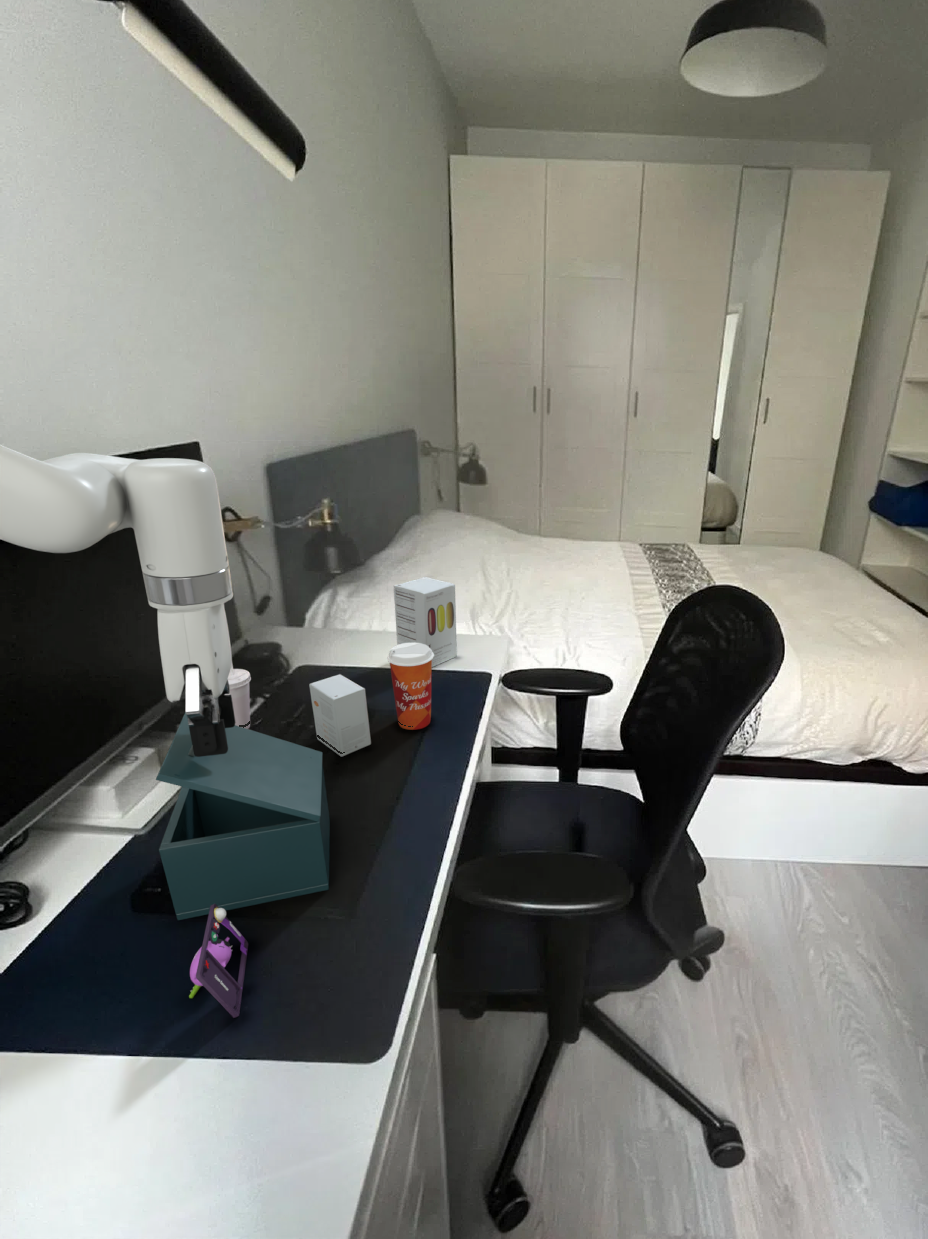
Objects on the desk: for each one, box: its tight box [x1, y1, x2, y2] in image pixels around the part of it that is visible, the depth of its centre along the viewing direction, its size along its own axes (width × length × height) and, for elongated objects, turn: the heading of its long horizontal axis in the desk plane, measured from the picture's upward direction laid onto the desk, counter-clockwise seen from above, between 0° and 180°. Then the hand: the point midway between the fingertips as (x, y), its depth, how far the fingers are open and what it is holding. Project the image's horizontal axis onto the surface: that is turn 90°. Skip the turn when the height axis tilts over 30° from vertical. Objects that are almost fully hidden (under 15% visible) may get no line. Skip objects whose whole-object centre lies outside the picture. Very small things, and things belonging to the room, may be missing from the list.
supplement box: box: [393, 576, 458, 668], centre depth 135 cm, size 10×9×17 cm
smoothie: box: [225, 664, 252, 729], centre depth 105 cm, size 6×6×14 cm
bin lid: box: [155, 702, 323, 821], centre depth 73 cm, size 17×14×5 cm
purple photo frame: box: [188, 904, 249, 1019], centre depth 62 cm, size 7×5×9 cm
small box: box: [308, 673, 372, 757], centre depth 103 cm, size 8×6×10 cm
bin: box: [158, 763, 331, 921], centre depth 76 cm, size 16×14×10 cm
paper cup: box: [386, 643, 434, 731], centre depth 109 cm, size 8×8×14 cm
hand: (215, 738), depth 71 cm, fingers closed on bin lid, 5 cm apart
